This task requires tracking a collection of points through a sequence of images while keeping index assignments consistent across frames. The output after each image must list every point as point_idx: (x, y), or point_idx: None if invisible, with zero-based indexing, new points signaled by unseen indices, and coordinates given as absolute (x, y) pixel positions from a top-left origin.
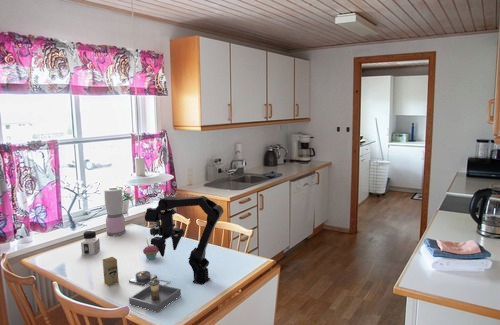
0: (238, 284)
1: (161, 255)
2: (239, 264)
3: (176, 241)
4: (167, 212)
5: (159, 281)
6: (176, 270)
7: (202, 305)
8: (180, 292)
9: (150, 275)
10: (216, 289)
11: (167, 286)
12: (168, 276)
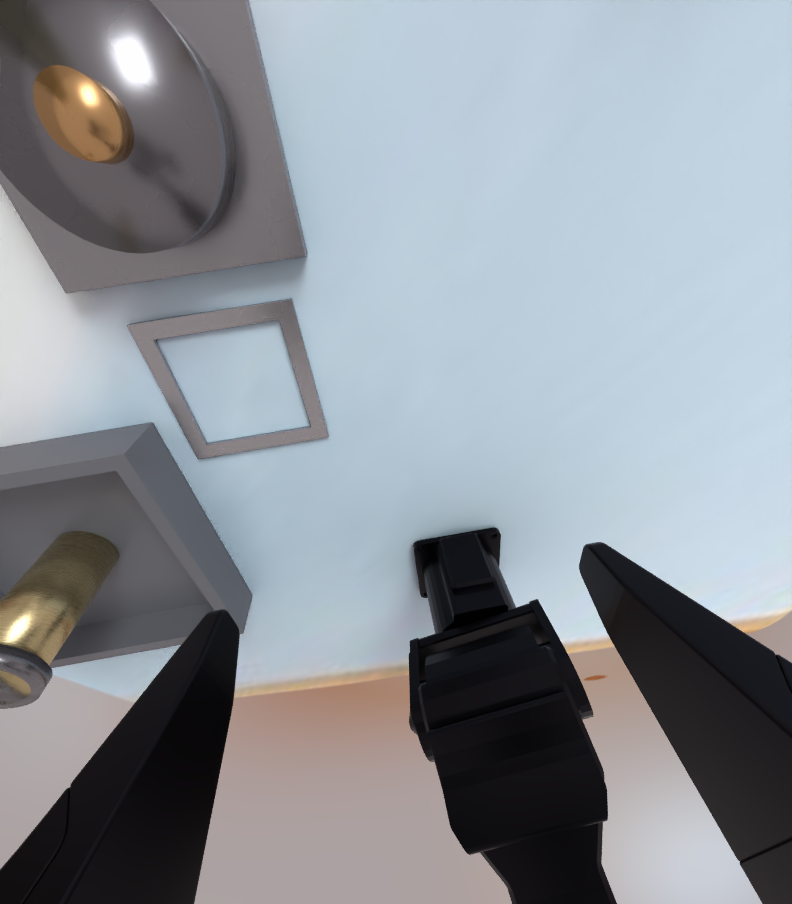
0: None
1: (197, 638)
2: (720, 567)
3: (736, 813)
4: None
5: (39, 695)
6: (534, 304)
7: (270, 682)
8: (246, 614)
9: (247, 170)
10: None
11: (195, 570)
12: (392, 341)
